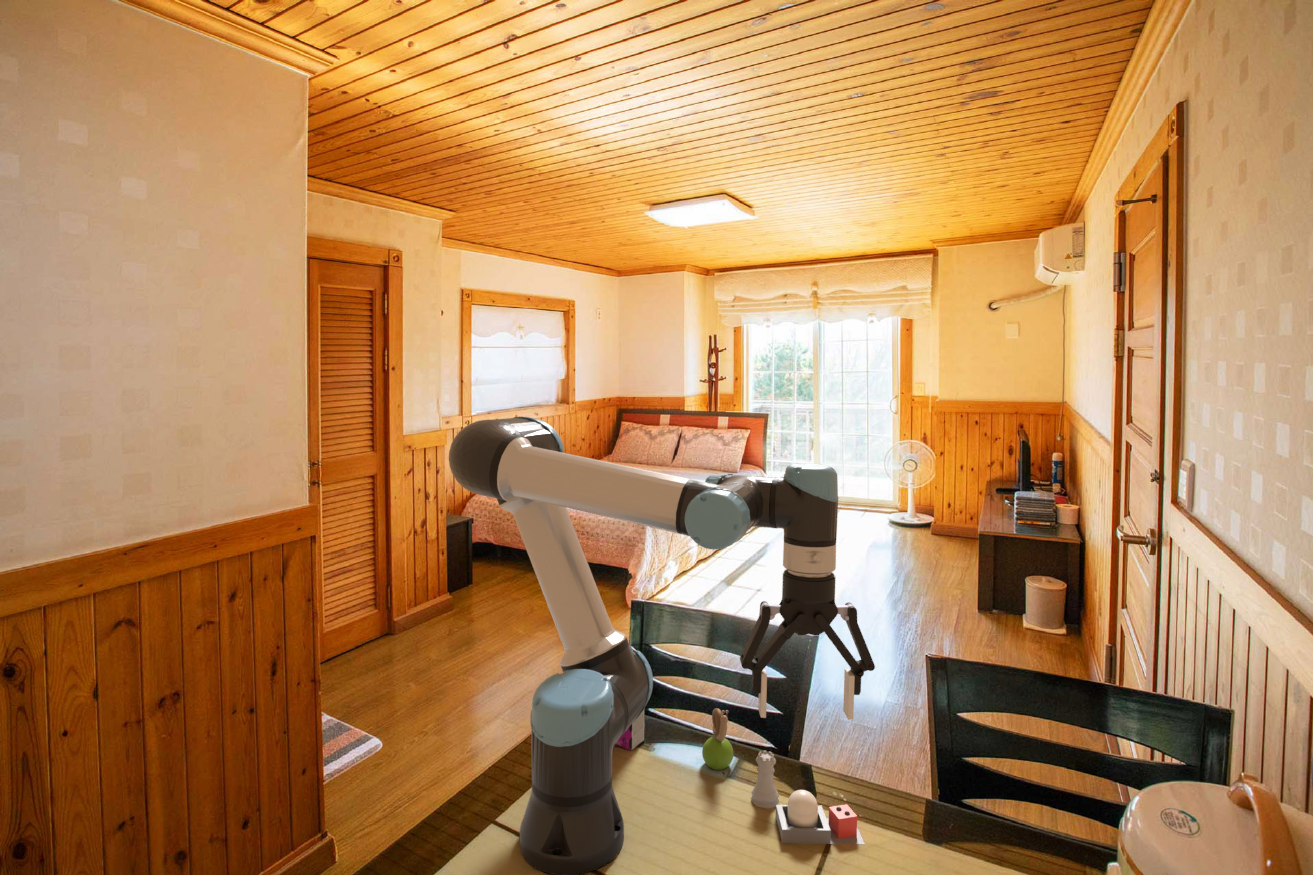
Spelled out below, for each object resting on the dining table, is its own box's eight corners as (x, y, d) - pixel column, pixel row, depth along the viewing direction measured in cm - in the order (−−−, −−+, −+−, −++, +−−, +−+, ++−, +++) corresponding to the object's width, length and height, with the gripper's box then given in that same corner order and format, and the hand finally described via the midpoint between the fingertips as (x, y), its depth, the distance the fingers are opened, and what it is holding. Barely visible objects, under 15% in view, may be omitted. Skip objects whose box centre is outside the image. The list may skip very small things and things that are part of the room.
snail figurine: (709, 781, 116) (710, 712, 115) (698, 761, 122) (699, 695, 122) (739, 777, 117) (740, 709, 117) (727, 757, 124) (728, 693, 123)
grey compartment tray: (781, 845, 100) (782, 820, 100) (775, 820, 106) (776, 796, 106) (864, 847, 100) (865, 822, 99) (853, 821, 106) (854, 797, 105)
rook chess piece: (778, 812, 108) (779, 763, 107) (750, 809, 109) (751, 760, 108) (779, 796, 112) (780, 749, 112) (751, 792, 113) (752, 745, 112)
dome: (790, 829, 100) (790, 800, 100) (785, 810, 105) (785, 783, 105) (820, 829, 100) (821, 801, 100) (814, 811, 105) (814, 783, 104)
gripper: (728, 576, 97) (725, 724, 98) (901, 578, 96) (895, 728, 98) (723, 562, 104) (721, 701, 106) (884, 565, 104) (879, 703, 105)
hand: (805, 714), depth 102 cm, fingers open, 12 cm apart
